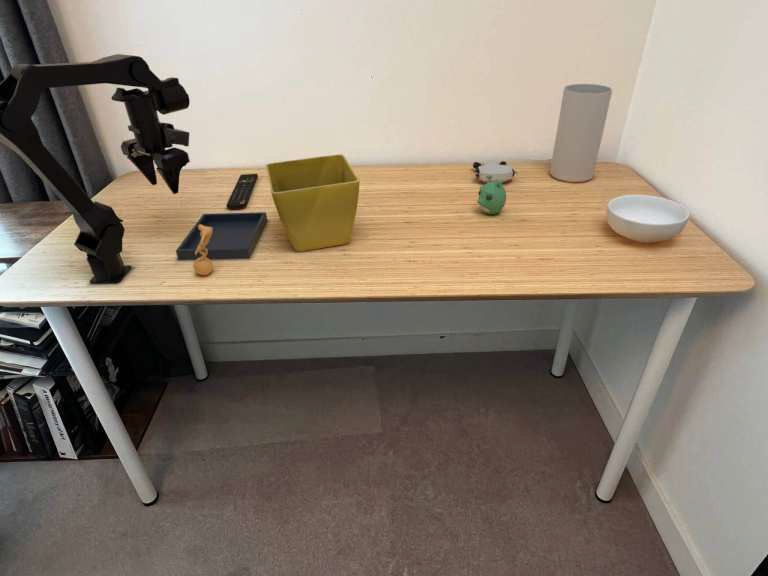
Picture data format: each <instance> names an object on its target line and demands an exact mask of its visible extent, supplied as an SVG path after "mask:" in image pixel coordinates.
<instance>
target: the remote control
mask: <svg viewBox="0 0 768 576" xmlns="http://www.w3.org/2000/svg"><path fill="white" fill-rule="evenodd" d="M258 177H259V174H258V173H246V174H240V175H239V178H237V182H236V183H235V186H234V188H233V190H232V193H231V194H230V196H229V199H228V200H227V202H226V205H225V206H226V208H227V209H229V210H231V211H239V210H240V211H241V210H243V209H244V208H246V207H247V205H248V203H249V200H250V198H251V194H252V193H253V189H254V187H255V185H256V182H257V179H258Z"/></svg>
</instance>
